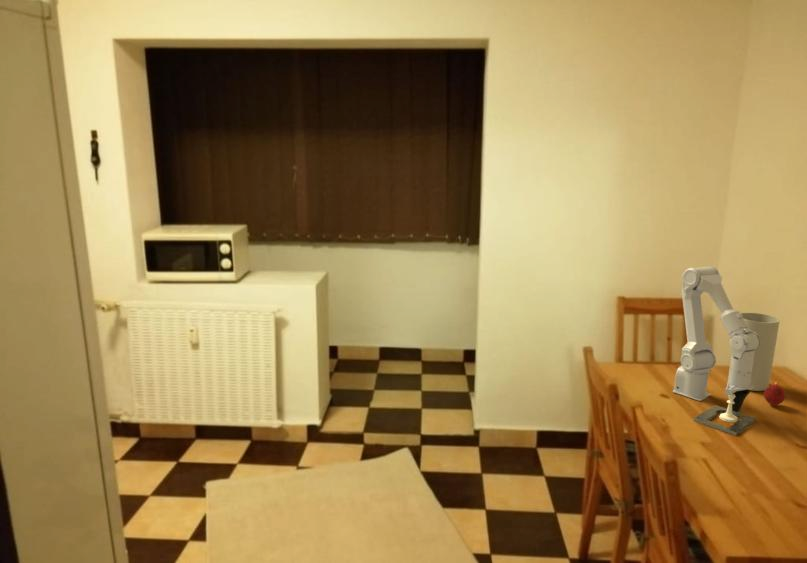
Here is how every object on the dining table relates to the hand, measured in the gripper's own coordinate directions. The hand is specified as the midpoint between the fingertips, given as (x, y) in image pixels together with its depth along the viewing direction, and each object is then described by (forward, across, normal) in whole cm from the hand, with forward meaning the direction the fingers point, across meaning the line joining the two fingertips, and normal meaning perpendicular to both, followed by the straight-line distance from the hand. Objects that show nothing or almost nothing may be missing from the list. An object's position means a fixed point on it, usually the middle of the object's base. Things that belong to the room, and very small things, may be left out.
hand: (734, 410), depth 176 cm
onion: (+2, +17, -5) cm, 18 cm away
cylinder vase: (+2, +29, +7) cm, 30 cm away
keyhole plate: (+2, -7, 0) cm, 7 cm away
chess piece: (+2, -4, 0) cm, 5 cm away
